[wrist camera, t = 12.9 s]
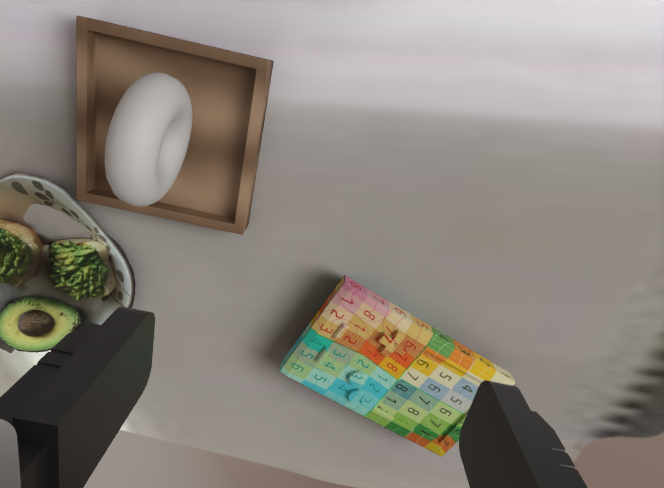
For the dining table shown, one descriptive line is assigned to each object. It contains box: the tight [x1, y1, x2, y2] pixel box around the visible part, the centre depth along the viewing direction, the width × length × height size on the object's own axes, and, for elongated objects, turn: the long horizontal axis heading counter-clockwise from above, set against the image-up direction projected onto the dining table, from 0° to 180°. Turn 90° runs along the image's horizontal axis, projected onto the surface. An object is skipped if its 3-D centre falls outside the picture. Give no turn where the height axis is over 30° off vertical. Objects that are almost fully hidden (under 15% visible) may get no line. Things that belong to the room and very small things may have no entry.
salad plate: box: [0, 172, 135, 353], centre depth 41 cm, size 19×18×5 cm
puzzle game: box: [279, 275, 516, 457], centre depth 44 cm, size 12×5×20 cm
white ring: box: [105, 72, 192, 207], centre depth 33 cm, size 10×4×10 cm, turn 161°
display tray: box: [77, 16, 273, 234], centre depth 37 cm, size 15×15×2 cm
